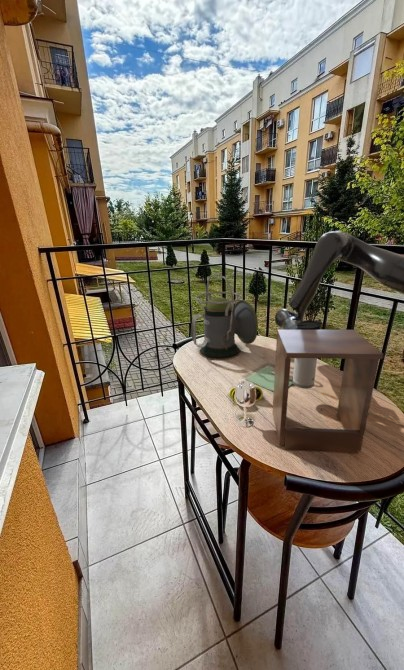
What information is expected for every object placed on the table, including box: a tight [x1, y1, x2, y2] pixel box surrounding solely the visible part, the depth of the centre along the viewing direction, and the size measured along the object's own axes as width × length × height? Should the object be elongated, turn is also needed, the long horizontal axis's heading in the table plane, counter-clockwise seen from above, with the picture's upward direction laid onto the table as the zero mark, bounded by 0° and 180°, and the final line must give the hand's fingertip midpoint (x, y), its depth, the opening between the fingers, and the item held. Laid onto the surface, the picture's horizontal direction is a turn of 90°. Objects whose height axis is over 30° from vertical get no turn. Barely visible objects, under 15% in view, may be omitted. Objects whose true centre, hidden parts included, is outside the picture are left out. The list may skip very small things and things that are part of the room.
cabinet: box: [272, 329, 384, 455], centre depth 71 cm, size 15×19×26 cm
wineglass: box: [235, 380, 257, 428], centre depth 78 cm, size 6×6×12 cm
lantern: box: [190, 273, 259, 361], centre depth 122 cm, size 25×29×35 cm
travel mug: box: [292, 319, 322, 390], centre depth 83 cm, size 6×7×20 cm
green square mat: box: [244, 365, 294, 393], centre depth 102 cm, size 14×14×1 cm
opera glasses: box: [228, 385, 264, 406], centre depth 89 cm, size 10×5×5 cm, turn 106°
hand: (308, 354), depth 80 cm, fingers closed on travel mug, 6 cm apart
